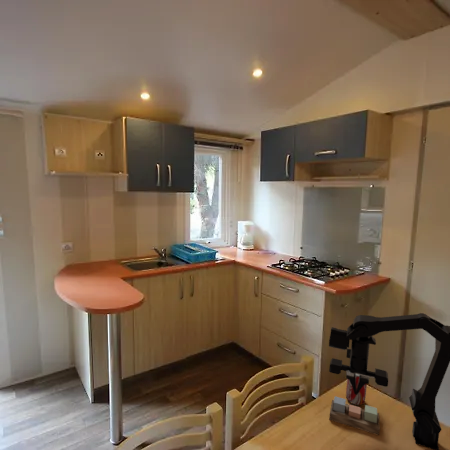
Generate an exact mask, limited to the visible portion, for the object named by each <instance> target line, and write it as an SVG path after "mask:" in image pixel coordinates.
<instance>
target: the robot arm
mask: <svg viewBox="0 0 450 450" xmlns="http://www.w3.org/2000/svg"><path fill="white" fill-rule="evenodd" d="M346 329H347V330H346ZM346 329H340V328H336V327H330V334H329V339H328V347H329V348H334V349H338V350H341V351H343V350H344V351H346V357H345V358H347V359H349V365H347V364H343V360H342V359H337V358H334V357H333V358H331V359H330V362H329V370H328V372H330V373H331V374H334V375H340V374H341V373H342V371H344V372H346V375H345V378H346V380H347V379H349V381H350V383H351V385H352V387H353V391H354V394H355V395H357V394H358V393H359V391H360V390H361V388H362V387H363V386H364V385H365V384H367V385H369V384H370V378H371V379H374V383H376V385H378V386H382V387H386V388H387V387H388V386H389V373H388V372H387V371H386V370H384V369H379V368H375V369H374V371H372V370H369V369H368V364H369V354H370V353H369V352H370V345H373V346H375V345H377V341H376V338H375V337H374V336H375V335H378V334H381V333H383V332H395V331H407V330H408V331H409V330H410V331H411V330H423V331H425V332H426V333H427V334H429V335H430V336H431V337H432V338H434V339H435V343H434V344H435V347H434V348H435V349H434V352H433V356H432V358H431V361H430V364H429V366H428V369H427V372H426V375H425V377H424V380H423V382H422V385H421V387H420V388H419V389H414V388H412V389H411V390H412V391H411V392H412V393H411V395H410V396H409V397H408V399H409V403H410V407H411V410H412V415H413V417H414V419H415V421H413V424H412V437H413V439H414V443H415V445H419V446H423V447H425V448H428V449H432V450H440V448H439V437H440V432H441V431H442V428H441V424H440V421H439V418H438V414H437V412H436V398H437V395H438V393H439V391H440V388H441V385H442V383H443V380H444V378H445V375H446V373H447V370H448V367H449V365H450V325H445V324H443V323H442V322H440V321H438V320H436V319H434V318H432V317H430V316H429V315H428V314H426V313H424V312H422V313H421V312H420V313H416V314H405V315H395V316H383V317H378V316H374V315H365V314H359V315H357V316H355V317H354V319H353V322H352V323H351V324H350V325H349V326H348V327H347V328H346ZM350 343H351V347H350ZM356 374H359V380H358V384H357V389H356Z"/></svg>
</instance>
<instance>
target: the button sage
mask: <svg viewBox="0 0 450 450" xmlns="http://www.w3.org/2000/svg"><path fill="white" fill-rule="evenodd" d="M364 409H365V417H364V419H365V420H368V421H371V422H374V423H377V413H378V408H377V407H374V406H371V405H368V404H364Z"/></svg>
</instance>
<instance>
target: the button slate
mask: <svg viewBox="0 0 450 450" xmlns="http://www.w3.org/2000/svg"><path fill="white" fill-rule="evenodd" d="M333 400H334V406H333V410H335V411H338V412H341V413H344V412H345V404H346V401H347V398H342V397H338V396H336V395H335V396H334V398H333Z"/></svg>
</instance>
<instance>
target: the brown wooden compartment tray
mask: <svg viewBox="0 0 450 450" xmlns="http://www.w3.org/2000/svg"><path fill="white" fill-rule="evenodd" d="M333 406H334V399H332V400H331V405H330V410H329V419H328V420H329V421H331V422H336V423H339V424H343V425H345V426H348V427H351V428H354V429H358V430H361V431H365V432H368V433H371V434H374V435H377V436H380V429H381V428H380V413H379V412H377V423H374V422H371V421H368V420H365V419H364V417H365V408H361V407H360V408H361V414H360V419H357V418H353V417H350V416H348V415H349V403H345V412H344V413H341V412H338V411H335V410H333Z"/></svg>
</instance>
